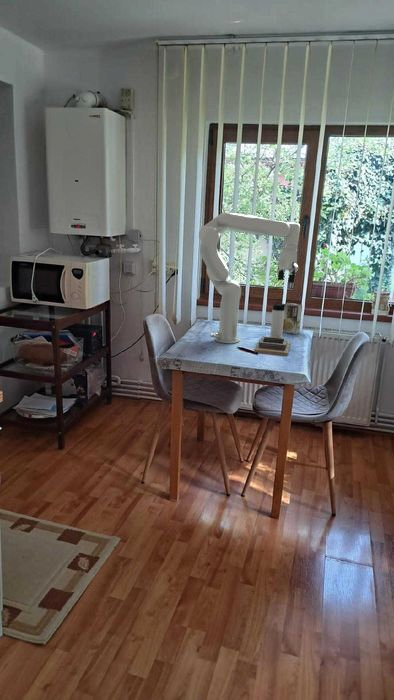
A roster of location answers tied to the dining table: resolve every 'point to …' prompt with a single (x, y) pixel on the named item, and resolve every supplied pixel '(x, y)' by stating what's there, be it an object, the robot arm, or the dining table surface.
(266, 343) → the pocket board
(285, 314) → the coffee box
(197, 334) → the dining table surface
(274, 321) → the travel mug
